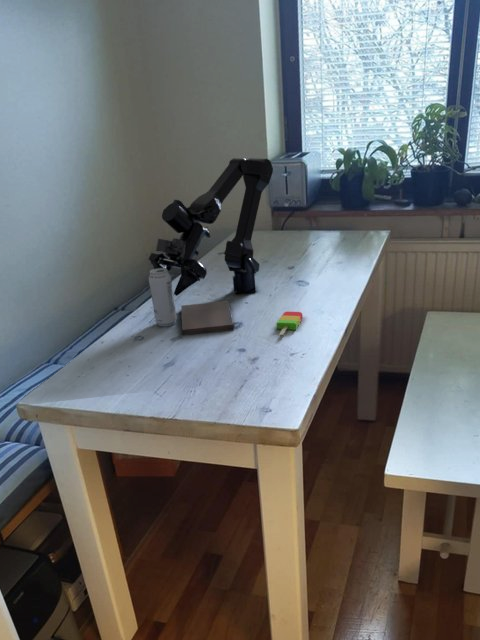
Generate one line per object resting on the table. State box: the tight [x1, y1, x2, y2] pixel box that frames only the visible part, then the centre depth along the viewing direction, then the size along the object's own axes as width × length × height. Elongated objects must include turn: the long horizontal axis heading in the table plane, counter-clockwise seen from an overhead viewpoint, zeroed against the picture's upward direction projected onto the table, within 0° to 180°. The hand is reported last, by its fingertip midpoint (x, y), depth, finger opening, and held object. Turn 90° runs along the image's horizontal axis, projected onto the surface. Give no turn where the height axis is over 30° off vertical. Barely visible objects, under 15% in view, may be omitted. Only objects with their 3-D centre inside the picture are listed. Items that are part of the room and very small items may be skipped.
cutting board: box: [180, 300, 235, 336], centre depth 173 cm, size 14×20×2 cm
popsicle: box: [275, 311, 303, 336], centre depth 164 cm, size 6×15×2 cm, turn 164°
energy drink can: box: [148, 268, 178, 327], centre depth 169 cm, size 6×6×15 cm
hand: (164, 292), depth 169 cm, fingers open, 9 cm apart
